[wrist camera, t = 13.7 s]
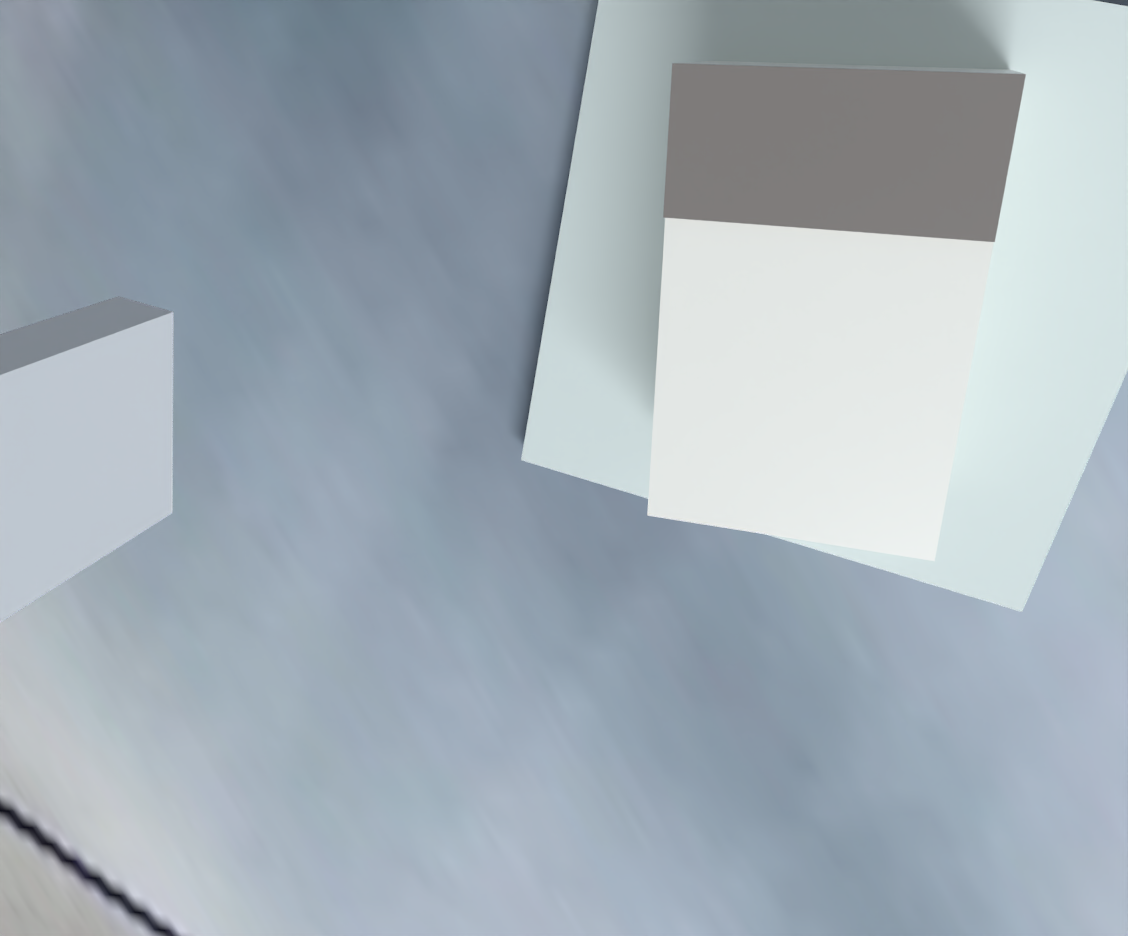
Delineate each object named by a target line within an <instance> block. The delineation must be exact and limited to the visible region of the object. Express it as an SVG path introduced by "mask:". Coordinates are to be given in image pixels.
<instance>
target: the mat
mask: <svg viewBox="0 0 1128 936" xmlns="http://www.w3.org/2000/svg"><path fill="white" fill-rule="evenodd" d="M700 61H740V62H773V63H807V64H841V65H875V66H909V67H943V68H977V69H1010V70H1013V71H1017V72H1020V73H1024V74H1026V77H1025V82H1024V88H1023V93H1022V99H1021V104H1020V109H1019V115H1018V120H1017V125H1016V131H1015V136H1014V142H1013V147H1012V152H1011V158H1010V163H1009V168H1008V174H1007V179H1006V185H1005V190H1004V195H1003V201H1002V206H1001V212H1000V217H999V222H998V228H997V233H996V238H995V242H994V244H993V250H992V255H991V261H990V266H989V271H988V277H987V282H986V287H985V293H984V298H983V304H982V309H981V314H980V320H979V325H978V331H977V336H976V341H975V347H974V352H973V358H972V363H971V368H970V374H969V379H968V385H967V390H966V395H965V401H964V406H963V411H962V417H961V422H960V428H959V433H958V438H957V444H956V449H955V455H954V460H953V465H952V471H951V476H950V482H949V487H948V492H947V498H946V503H945V509H944V514H943V519H942V525H941V530H940V535H939V541H938V546H937V552H936V557H935V561H930V560H923V559H917V558H911V557H905V556H898V555H892V554H886V553H880V552H873V551H867V550H861V549H855V548H848V547H842V546H836V545H830V544H823V543H817V542H811V541H805V540H798V539H792V538H786V537H779V536H773V535H770V536H773V537H776V538H780V539H783V540H786V541H789V542H793V543H796V544H799V545H803V546H806V547H809V548H813V549H816V550H819V551H822V552H826V553H829V554H832V555H836V556H839V557H842V558H845V559H849V560H852V561H855V562H859V563H862V564H865V565H869V566H872V567H875V568H878V569H882V570H885V571H888V572H892V573H895V574H898V575H901V576H905V577H908V578H911V579H915V580H918V581H921V582H925V583H928V584H931V585H934V586H938V587H941V588H944V589H948V590H951V591H954V592H957V593H961V594H964V595H967V596H971V597H974V598H977V599H981V600H984V601H987V602H990V603H994V604H997V605H1000V606H1004V607H1007V608H1010V609H1013V610H1017V611H1020V612H1022V611H1023V609H1024V606H1025V604H1026V602H1027V599H1028V597H1029V595H1030V593H1031V590H1032V588H1033V586H1034V583H1035V581H1036V579H1037V577H1038V574H1039V572H1040V570H1041V567H1042V565H1043V563H1044V561H1045V558H1046V556H1047V554H1048V551H1049V549H1050V547H1051V545H1052V542H1053V540H1054V538H1055V535H1056V533H1057V531H1058V528H1059V526H1060V524H1061V522H1062V519H1063V517H1064V515H1065V512H1066V510H1067V508H1068V506H1069V503H1070V501H1071V499H1072V496H1073V494H1074V492H1075V490H1076V487H1077V485H1078V483H1079V480H1080V478H1081V476H1082V474H1083V471H1084V469H1085V467H1086V464H1087V462H1088V460H1089V458H1090V455H1091V453H1092V451H1093V448H1094V446H1095V444H1096V441H1097V439H1098V437H1099V435H1100V432H1101V430H1102V428H1103V425H1104V423H1105V421H1106V419H1107V416H1108V414H1109V412H1110V409H1111V407H1112V405H1113V403H1114V400H1115V398H1116V396H1117V393H1118V391H1119V389H1120V387H1121V384H1122V382H1123V380H1124V377H1125V375H1126V373H1127V370H1128V6H1123V5H1118V4H1112V3H1106V2H1100V1H1095V0H599V1H598V7H597V13H596V19H595V25H594V31H593V36H592V42H591V48H590V54H589V60H588V66H587V72H586V78H585V84H584V90H583V96H582V102H581V108H580V114H579V120H578V126H577V132H576V137H575V143H574V149H573V155H572V161H571V167H570V173H569V179H568V185H567V191H566V197H565V203H564V209H563V215H562V221H561V227H560V232H559V238H558V244H557V250H556V256H555V262H554V268H553V274H552V280H551V286H550V292H549V298H548V304H547V310H546V316H545V322H544V327H543V333H542V339H541V345H540V351H539V357H538V363H537V369H536V375H535V381H534V387H533V393H532V399H531V405H530V411H529V417H528V422H527V428H526V434H525V440H524V446H523V452H522V458H521V460H523V461H526V462H529V463H532V464H536V465H539V466H542V467H546V468H549V469H552V470H556V471H559V472H562V473H565V474H569V475H572V476H575V477H579V478H582V479H585V480H588V481H592V482H595V483H598V484H602V485H605V486H608V487H612V488H615V489H618V490H621V491H625V492H628V493H631V494H635V495H638V496H641V497H644V498H648V497H649V480H650V464H651V447H652V430H653V414H654V397H655V380H656V363H657V347H658V330H659V313H660V297H661V280H662V263H663V246H664V230H665V218H663V211H664V194H665V178H666V161H667V144H668V127H669V110H670V93H671V76H672V63H685V62H700ZM766 535H767V534H766Z"/></svg>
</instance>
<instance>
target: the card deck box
mask: <svg viewBox="0 0 1128 936" xmlns="http://www.w3.org/2000/svg"><path fill="white" fill-rule="evenodd" d="M1025 77H1026V74H1024V73H1020V72H1017V71H1013V70H1010V69H977V68H943V67H909V66H875V65H841V64H807V63H773V62H740V61H700V62H685V63H672V76H671V93H670V110H669V127H668V144H667V161H666V178H665V194H664V211H663V218H665V230H664V246H663V263H662V280H661V297H660V313H659V330H658V347H657V363H656V380H655V397H654V414H653V430H652V447H651V464H650V480H649V497H648V514H647V515H648V516H654V517H661V518H667V519H673V520H679V521H686V522H692V523H698V524H704V525H711V526H717V527H723V528H729V529H736V530H742V531H748V532H754V533H761V534H767V535H773V536H779V537H786V538H792V539H798V540H805V541H811V542H817V543H823V544H830V545H836V546H842V547H848V548H855V549H861V550H867V551H873V552H880V553H886V554H892V555H898V556H905V557H911V558H917V559H923V560H930V561H935V557H936V552H937V546H938V541H939V535H940V530H941V525H942V519H943V514H944V509H945V503H946V498H947V492H948V487H949V482H950V476H951V471H952V465H953V460H954V455H955V449H956V444H957V438H958V433H959V428H960V422H961V417H962V411H963V406H964V401H965V395H966V390H967V385H968V379H969V374H970V368H971V363H972V358H973V352H974V347H975V341H976V336H977V331H978V325H979V320H980V314H981V309H982V304H983V298H984V293H985V287H986V282H987V277H988V271H989V266H990V261H991V255H992V250H993V244H994V242H995V238H996V233H997V228H998V222H999V217H1000V212H1001V206H1002V201H1003V195H1004V190H1005V185H1006V179H1007V174H1008V168H1009V163H1010V158H1011V152H1012V147H1013V142H1014V136H1015V131H1016V125H1017V120H1018V115H1019V109H1020V104H1021V99H1022V93H1023V88H1024V82H1025Z"/></svg>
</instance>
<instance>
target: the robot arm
mask: <svg viewBox="0 0 1128 936" xmlns="http://www.w3.org/2000/svg"><path fill="white" fill-rule="evenodd" d="M172 513H173V312H172V311H168V310H165V309H161V308H158V307H154V306H151V305H147V304H144V303H140V302H137V301H133V300H130V299H126V298H123V297H119V296H118V297H115V298H112V299H109V300H106V301H103V302H99V303H96V304H93V305H90V306H87V307H84V308H81V309H78V310H75V311H71V312H68V313H65V314H62V315H59V316H56V317H53V318H50V319H46V320H43V321H40V322H37V323H34V324H31V325H28V326H25V327H21V328H18V329H15V330H12V331H9V332H6V333H3V334H0V622H2V621H4V620H5V619H7V618H8V617H10V616H11V615H13V614H15V613H16V612H18V611H19V610H21V609H22V608H24V607H26V606H27V605H29V604H30V603H32V602H33V601H35V600H37V599H38V598H40V597H41V596H43V595H44V594H46V593H48V592H49V591H51V590H52V589H54V588H55V587H57V586H59V585H60V584H62V583H63V582H65V581H66V580H68V579H70V578H71V577H73V576H74V575H76V574H77V573H79V572H81V571H82V570H84V569H85V568H87V567H88V566H90V565H92V564H93V563H95V562H96V561H98V560H99V559H101V558H103V557H104V556H106V555H107V554H109V553H110V552H112V551H114V550H115V549H117V548H118V547H120V546H121V545H123V544H124V543H126V542H128V541H129V540H131V539H132V538H134V537H135V536H137V535H139V534H140V533H142V532H143V531H145V530H146V529H148V528H150V527H151V526H153V525H154V524H156V523H157V522H159V521H161V520H162V519H164V518H165V517H167V516H168V515H170V514H172Z"/></svg>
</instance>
